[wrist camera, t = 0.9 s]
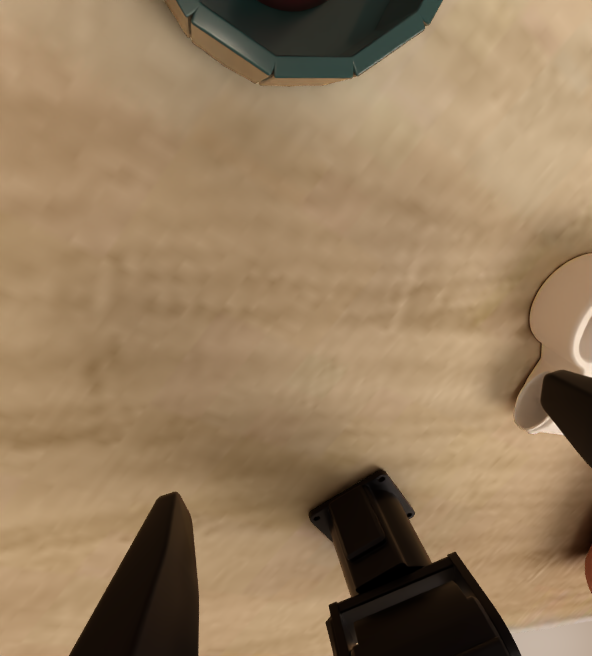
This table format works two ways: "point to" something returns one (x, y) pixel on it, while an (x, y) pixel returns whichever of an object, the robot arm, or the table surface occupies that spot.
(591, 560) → the brown patterned slab
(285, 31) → the shallow bowl
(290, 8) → the candle
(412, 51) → the table surface
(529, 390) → the knuckle duster
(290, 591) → the table surface
